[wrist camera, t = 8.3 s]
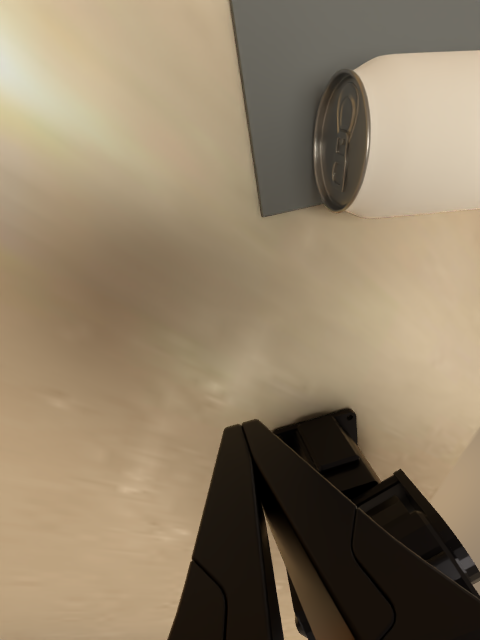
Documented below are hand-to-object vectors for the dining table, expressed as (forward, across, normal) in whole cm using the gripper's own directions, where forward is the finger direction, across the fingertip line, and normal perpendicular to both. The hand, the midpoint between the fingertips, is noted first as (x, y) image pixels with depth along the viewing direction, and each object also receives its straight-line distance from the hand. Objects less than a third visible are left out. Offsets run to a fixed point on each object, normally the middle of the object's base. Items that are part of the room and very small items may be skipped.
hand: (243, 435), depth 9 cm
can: (+9, -19, -4) cm, 22 cm away
